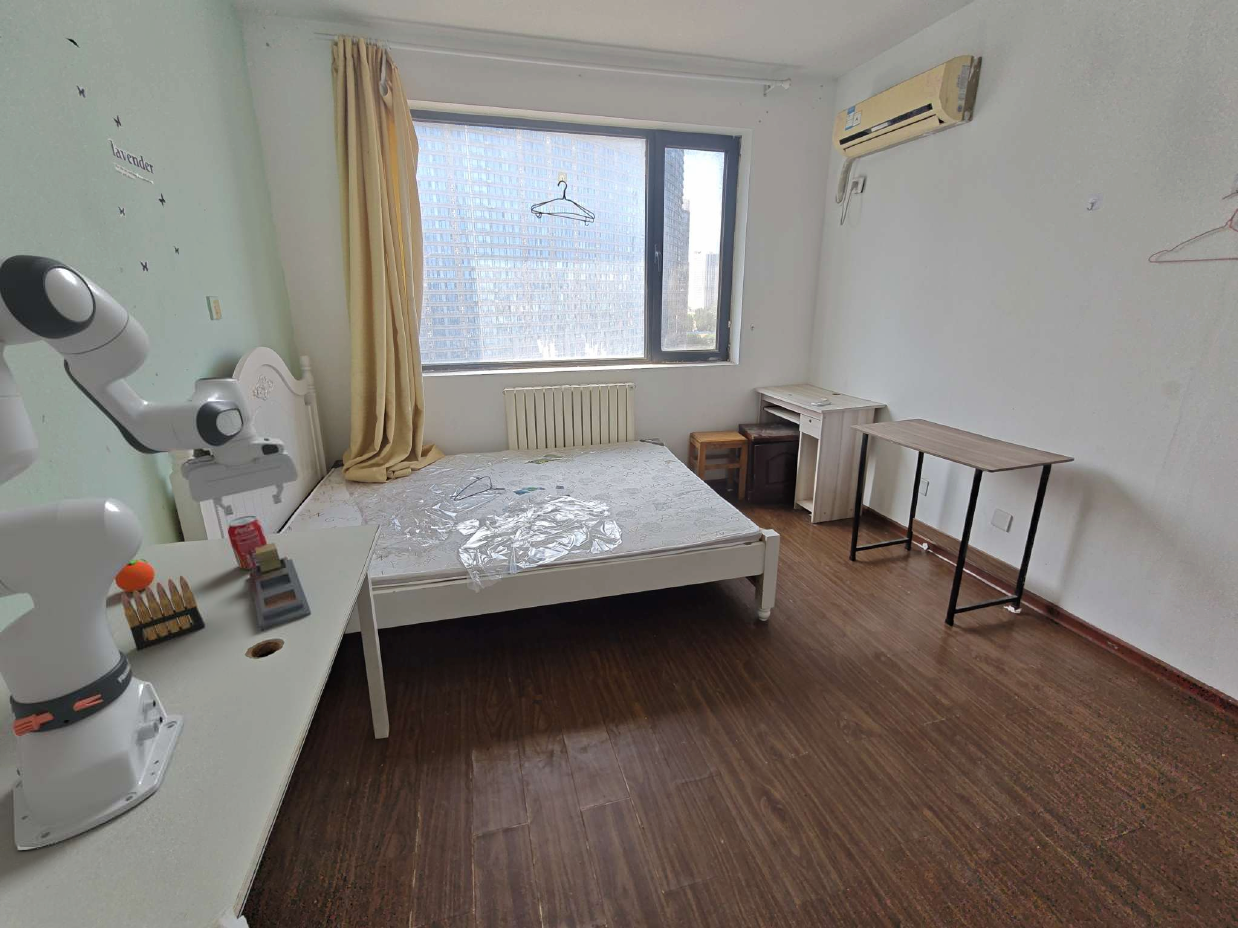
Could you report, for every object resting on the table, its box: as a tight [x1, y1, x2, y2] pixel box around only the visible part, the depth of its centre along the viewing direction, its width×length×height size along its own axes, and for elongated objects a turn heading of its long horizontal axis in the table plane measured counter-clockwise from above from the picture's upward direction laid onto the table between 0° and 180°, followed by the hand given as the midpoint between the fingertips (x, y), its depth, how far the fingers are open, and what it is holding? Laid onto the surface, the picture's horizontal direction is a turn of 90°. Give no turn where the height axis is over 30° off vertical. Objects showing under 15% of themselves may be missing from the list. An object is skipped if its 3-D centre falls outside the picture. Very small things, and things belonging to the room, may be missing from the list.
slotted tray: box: [248, 556, 312, 631], centre depth 122 cm, size 28×9×3 cm, turn 36°
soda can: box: [227, 515, 268, 570], centre depth 135 cm, size 7×7×12 cm
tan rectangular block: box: [255, 542, 282, 575], centre depth 128 cm, size 4×4×6 cm
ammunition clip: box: [121, 575, 206, 651], centre depth 107 cm, size 11×2×12 cm, turn 130°
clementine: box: [114, 558, 156, 593], centre depth 127 cm, size 8×7×7 cm
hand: (254, 508), depth 124 cm, fingers open, 8 cm apart
